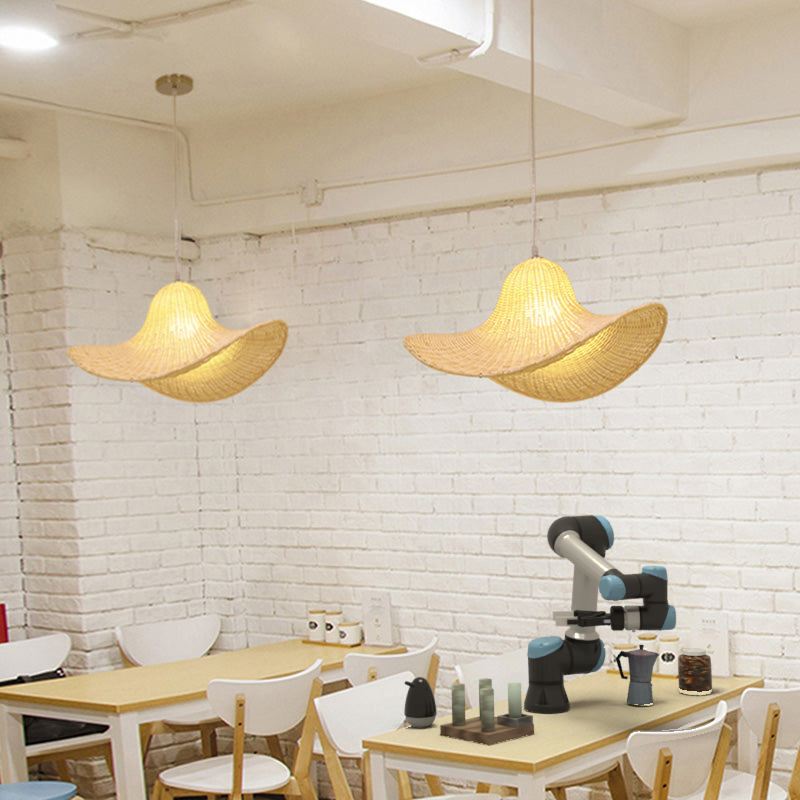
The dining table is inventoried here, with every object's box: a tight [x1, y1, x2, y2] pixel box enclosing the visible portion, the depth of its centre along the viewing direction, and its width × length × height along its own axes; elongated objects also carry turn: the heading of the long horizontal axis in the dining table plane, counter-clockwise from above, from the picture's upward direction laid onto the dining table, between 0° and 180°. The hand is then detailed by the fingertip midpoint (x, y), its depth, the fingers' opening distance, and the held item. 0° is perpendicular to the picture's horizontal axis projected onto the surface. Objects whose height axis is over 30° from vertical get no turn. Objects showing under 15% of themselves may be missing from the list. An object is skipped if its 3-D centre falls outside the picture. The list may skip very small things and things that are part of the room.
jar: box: [677, 647, 713, 692], centre depth 415 cm, size 12×12×15 cm
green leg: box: [507, 682, 523, 719], centre depth 354 cm, size 4×4×12 cm
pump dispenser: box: [403, 676, 438, 729], centre depth 369 cm, size 10×10×15 cm
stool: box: [439, 677, 535, 746], centre depth 355 cm, size 20×20×15 cm
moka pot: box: [615, 644, 660, 705], centre depth 396 cm, size 10×15×20 cm, turn 105°
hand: (554, 618), depth 360 cm, fingers open, 13 cm apart
